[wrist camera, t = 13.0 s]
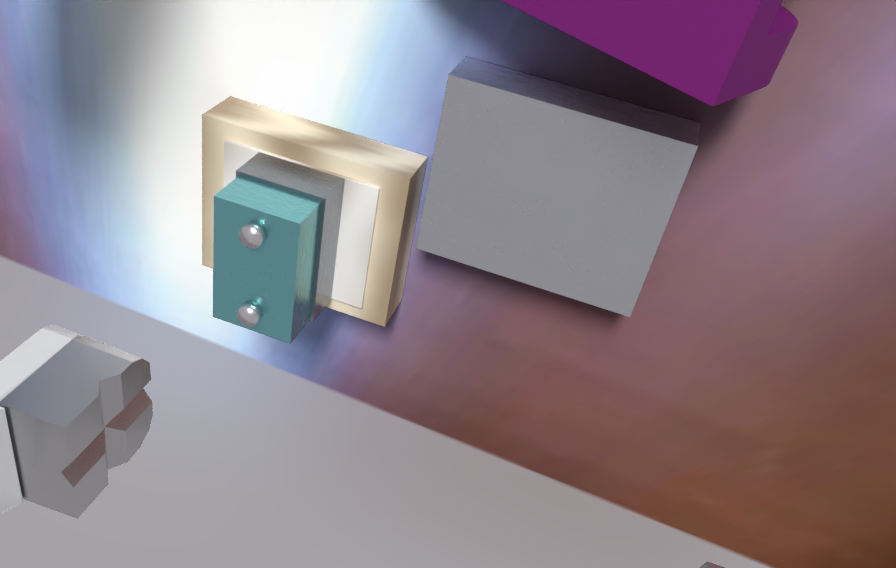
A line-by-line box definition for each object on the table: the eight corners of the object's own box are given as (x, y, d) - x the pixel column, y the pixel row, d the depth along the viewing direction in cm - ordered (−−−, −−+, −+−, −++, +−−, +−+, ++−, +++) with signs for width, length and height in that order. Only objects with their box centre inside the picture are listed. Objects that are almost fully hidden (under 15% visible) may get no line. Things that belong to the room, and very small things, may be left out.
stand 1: (427, 156, 44) (408, 181, 41) (401, 299, 49) (382, 329, 47) (230, 96, 45) (199, 116, 43) (227, 241, 51) (199, 267, 48)
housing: (345, 178, 42) (298, 227, 37) (331, 298, 47) (288, 354, 42) (259, 151, 43) (203, 196, 38) (254, 272, 47) (203, 324, 43)
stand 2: (700, 122, 38) (697, 146, 36) (635, 287, 44) (629, 317, 42) (465, 56, 40) (448, 74, 38) (432, 223, 46) (416, 248, 43)
